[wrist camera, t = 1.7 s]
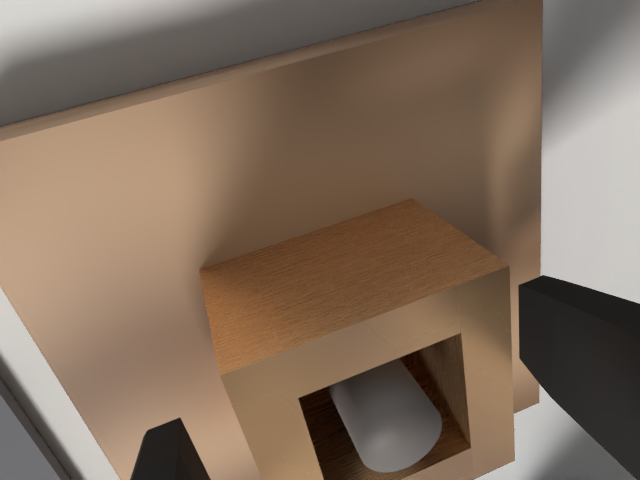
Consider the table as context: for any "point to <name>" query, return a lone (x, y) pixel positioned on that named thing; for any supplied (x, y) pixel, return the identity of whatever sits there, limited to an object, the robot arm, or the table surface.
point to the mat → (23, 445)
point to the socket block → (265, 214)
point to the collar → (366, 341)
